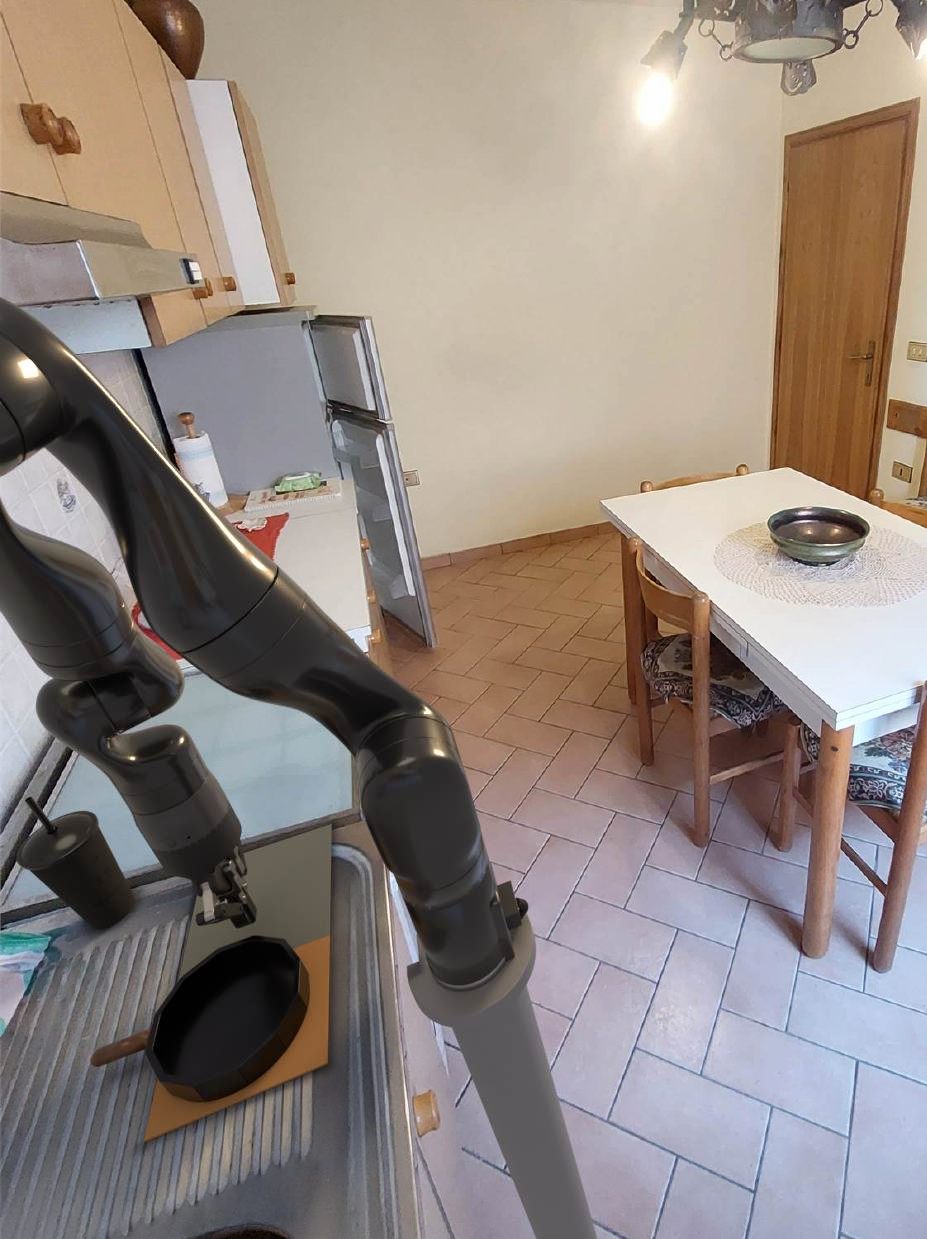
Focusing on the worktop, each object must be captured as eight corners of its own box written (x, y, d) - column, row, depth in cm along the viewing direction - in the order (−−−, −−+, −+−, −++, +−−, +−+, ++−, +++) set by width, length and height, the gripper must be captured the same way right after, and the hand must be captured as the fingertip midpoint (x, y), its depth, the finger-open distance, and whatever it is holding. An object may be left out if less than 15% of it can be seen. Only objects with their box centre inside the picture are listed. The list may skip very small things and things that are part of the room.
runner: (331, 825, 91) (331, 823, 90) (327, 1064, 65) (326, 1063, 65) (203, 868, 86) (202, 866, 86) (145, 1142, 60) (143, 1141, 60)
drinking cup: (60, 944, 79) (-35, 831, 69) (102, 885, 85) (20, 775, 76) (124, 937, 79) (37, 824, 69) (160, 880, 85) (86, 769, 76)
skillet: (312, 935, 76) (302, 916, 75) (307, 1063, 65) (295, 1044, 63) (124, 1005, 71) (109, 986, 70) (81, 1157, 60) (61, 1140, 58)
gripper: (218, 854, 63) (278, 959, 72) (234, 762, 74) (285, 862, 83) (129, 884, 61) (202, 989, 70) (159, 785, 72) (219, 885, 80)
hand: (247, 919), depth 76 cm, fingers closed
